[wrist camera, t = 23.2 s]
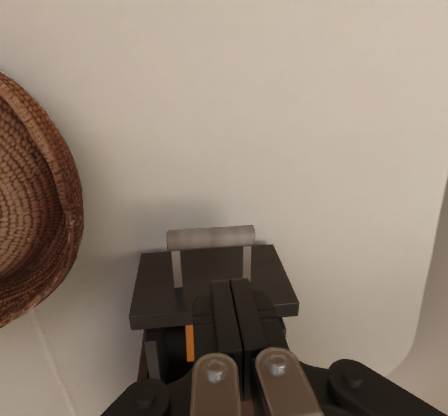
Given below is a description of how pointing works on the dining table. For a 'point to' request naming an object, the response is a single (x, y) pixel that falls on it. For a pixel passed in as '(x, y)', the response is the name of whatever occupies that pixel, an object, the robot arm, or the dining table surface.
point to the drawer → (199, 288)
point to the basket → (34, 204)
